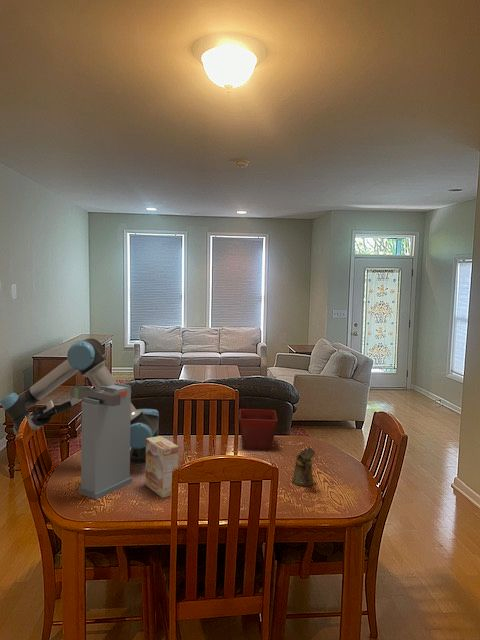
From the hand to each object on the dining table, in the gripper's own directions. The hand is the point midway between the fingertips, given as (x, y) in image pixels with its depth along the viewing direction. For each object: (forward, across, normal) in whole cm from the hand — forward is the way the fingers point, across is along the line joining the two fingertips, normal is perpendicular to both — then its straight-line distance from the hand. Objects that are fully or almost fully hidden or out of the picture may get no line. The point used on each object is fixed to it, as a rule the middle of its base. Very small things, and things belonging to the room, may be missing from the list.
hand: (66, 400), depth 190 cm
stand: (-1, -5, -38) cm, 39 cm away
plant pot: (+20, -84, -51) cm, 100 cm away
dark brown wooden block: (+15, 0, -6) cm, 17 cm away
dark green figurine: (+54, -55, -71) cm, 104 cm away
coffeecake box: (+15, -16, -48) cm, 53 cm away
